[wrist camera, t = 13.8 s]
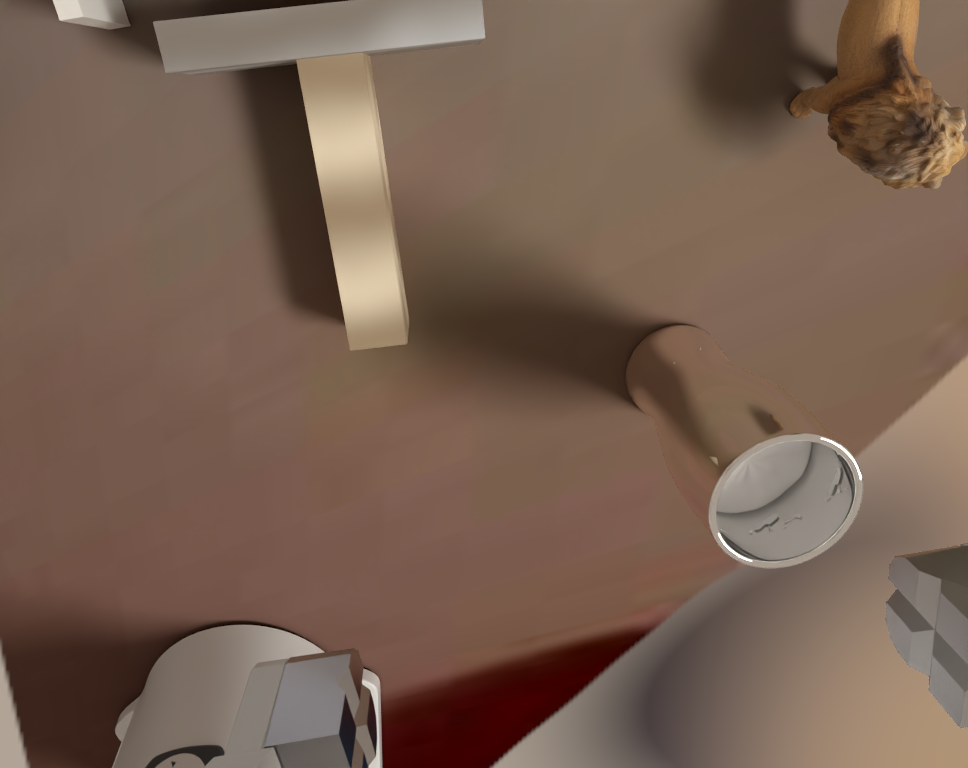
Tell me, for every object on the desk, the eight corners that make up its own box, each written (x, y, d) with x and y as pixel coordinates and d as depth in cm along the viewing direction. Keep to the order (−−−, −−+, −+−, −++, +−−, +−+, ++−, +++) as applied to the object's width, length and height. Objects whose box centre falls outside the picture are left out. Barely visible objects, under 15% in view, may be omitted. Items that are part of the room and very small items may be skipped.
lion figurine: (886, 159, 39) (1006, 179, 31) (791, 185, 40) (885, 211, 31) (876, -155, 34) (1021, -233, 25) (765, -123, 34) (873, -191, 26)
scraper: (503, 310, 41) (512, 338, 37) (262, 338, 41) (241, 369, 36) (474, -1, 35) (480, -14, 30) (190, 30, 35) (152, 21, 30)
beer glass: (752, 373, 44) (899, 506, 30) (661, 443, 45) (762, 600, 31) (687, 293, 41) (813, 395, 28) (594, 369, 43) (671, 503, 29)
